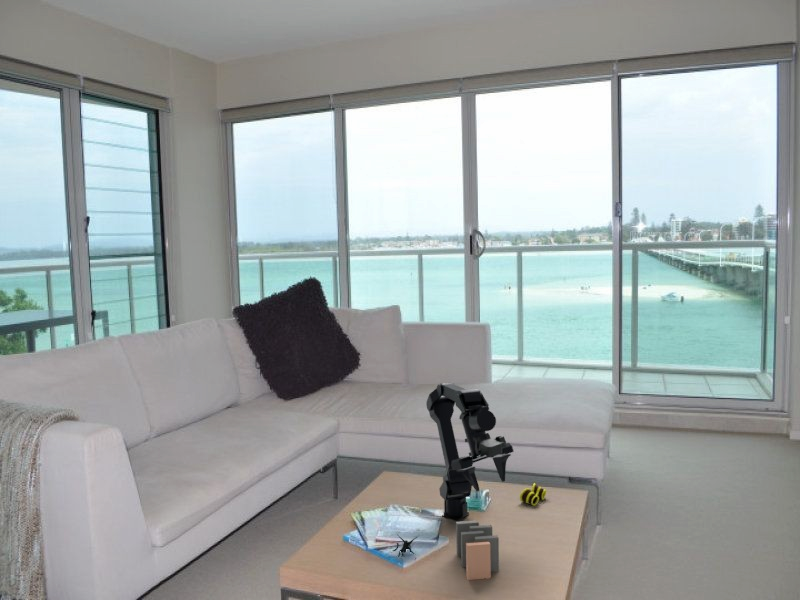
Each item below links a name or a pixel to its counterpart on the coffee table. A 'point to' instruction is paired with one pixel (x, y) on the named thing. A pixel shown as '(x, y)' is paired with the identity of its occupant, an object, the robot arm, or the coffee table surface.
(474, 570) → the end domino
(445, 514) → the robot arm
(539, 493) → the opera glasses
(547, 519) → the coffee table surface
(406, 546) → the creature
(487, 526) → the domino
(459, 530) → the domino
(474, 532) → the domino
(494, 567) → the domino
